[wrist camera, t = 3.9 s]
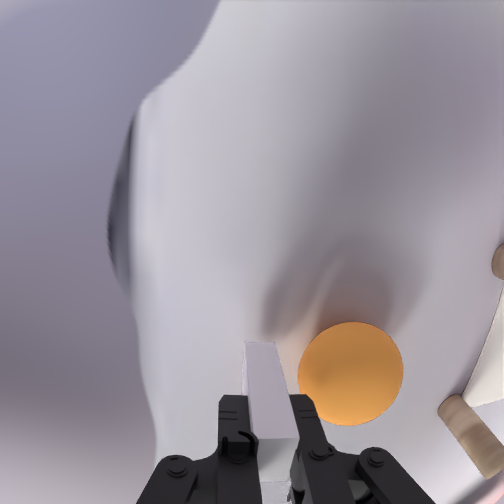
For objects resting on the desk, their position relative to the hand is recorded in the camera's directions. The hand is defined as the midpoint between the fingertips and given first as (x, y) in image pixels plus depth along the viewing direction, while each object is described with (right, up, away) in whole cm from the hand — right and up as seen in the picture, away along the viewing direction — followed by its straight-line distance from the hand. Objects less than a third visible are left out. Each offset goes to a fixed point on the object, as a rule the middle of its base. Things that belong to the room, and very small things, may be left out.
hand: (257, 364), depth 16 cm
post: (+16, -7, +5) cm, 18 cm away
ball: (+5, -1, -1) cm, 5 cm away
